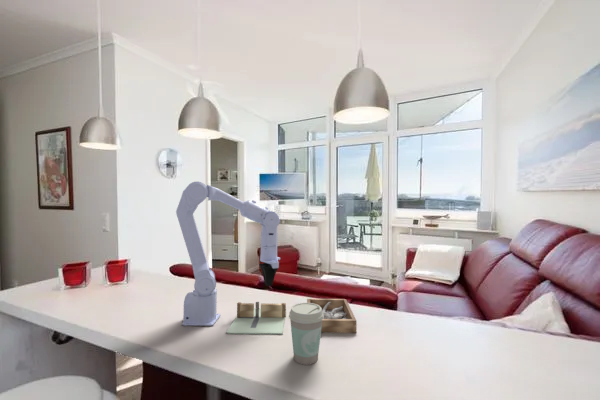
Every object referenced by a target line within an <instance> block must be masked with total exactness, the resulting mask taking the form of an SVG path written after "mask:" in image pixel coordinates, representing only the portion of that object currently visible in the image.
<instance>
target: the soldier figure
mask: <svg viewBox="0 0 600 400" xmlns="http://www.w3.org/2000/svg"><path fill="white" fill-rule="evenodd" d="M329 303H331V302H328V303H327V304H326V305H325V307H324V308H323V310H322V312H323V314H324V318H323V319H343V318H344V317H346V315H347V313H345V312H344V313H342V314H338V315H335V314H336V313H337V312H338V311H342V310H341V309H342V308H343V306H341V307H340V308H335V309H333V310H330V311H327V310H326V308H327V306H328V305H330V304H329Z"/></svg>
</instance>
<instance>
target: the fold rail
mask: <svg viewBox="0 0 600 400" xmlns="http://www.w3.org/2000/svg"><path fill="white" fill-rule="evenodd" d="M260 308H261V317H283V318H284V317H285V318H286V315H287V303H286V302H282V303H260Z"/></svg>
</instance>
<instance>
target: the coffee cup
mask: <svg viewBox="0 0 600 400" xmlns="http://www.w3.org/2000/svg"><path fill="white" fill-rule="evenodd" d="M288 318H289V319H290V328H291V329H290V331H291V340H292V349H293V352H292V353H293V359H294V361H295V362H296V363H298V364H301V365H305V366H306V365H312V364H315V363H316V362H317V361H318V359H319V352H320V351H319V350H320V343H321V336H322V335H321V334H322V332H321V328H322V320H323V318H324V314H323V312H322V308H321V307H320V306H319V305H317V304H313V303H307V302H300V303H295V304H293V305H292V306H291V308H290V311H289V315H288Z"/></svg>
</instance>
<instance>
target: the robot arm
mask: <svg viewBox="0 0 600 400" xmlns="http://www.w3.org/2000/svg"><path fill="white" fill-rule="evenodd" d="M206 199H207V201H218V202H220V203H223V204H225V205H227V206H230V207H232V208H234V209H236V210H238V211H239V212H240V213H239V214H240V215H241V217H244V218H246V219H248V220H250V221H253V222H255V223H257V224H260V225H261V227H260V228H261V230H260V255H259V261H260V262H262V263H259V268H260V270H261V272H262V276H263V277H262V278H263V282H264V283H263V284H264V285H265V286H266V287H270V286H273V284H274V281H275V276H276V273H277V271H278V270H279V268H280V260H281V257H279V256H278V235H279V234H278V226H279V225H280V223H281V220H280V217H279V215H278V213H277V212H275V211H272V210H269V207H267V206H265V207H264V206H262V205H260V204H258V203H257V201H256V200H245V201H243V200H241V199H239V198H237V197H235V196H233V195H231V194H229V193H228V192H225V191H223V190H221V188H217V187H215V186H212V185H209V184H205V183H203V182H201V181H193V182H191V183H189V184H188V185H187V186H186V187H185V189H184V190H183V191H182V193H181V197H180V200H179V202H178V205H177V208H176V211H175V213H176V214H175V215H176V217H177V220H178V223H179V227H180V230H181V234H182V237H183V240H184V243H185V247H186V249H187V254H188V256H189V257H188V258H189V260H190V263H191V266H192V272H193V276H194V284H193V286H194V287H193V288H194V289H193V290H192V291H191V292H187V293H186V295H185V297H184V300H183V315H182V316H183V318H182V319H183V322H182V323H181V326H187V327H189V326H194V327H195V326H196V327H198V326H199V327H200V326H201V327H202V326H203V327H204V326H206V327H211V326H212V327H213V326H215V323H216V322H217V321H218V320H219V318H220V317H221V313H217V306H218V305H217V303H218V301H217V297H218V296H217V295H218V293H217V292H218V290H217V288H216V287H217V280H216V274H215V272H214V271H213V270H212V269H211V268H210V265H209V262H208V259H207V256H206V253H205V250H204V247H203V243H202V240H201V237H200V234H199V230H198V227H197V223H196V220H195V217H194V213H195V211H196V210H197V208H198V206H199V205H200V204H201V203H203V202H204V201H205V200H206Z"/></svg>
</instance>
